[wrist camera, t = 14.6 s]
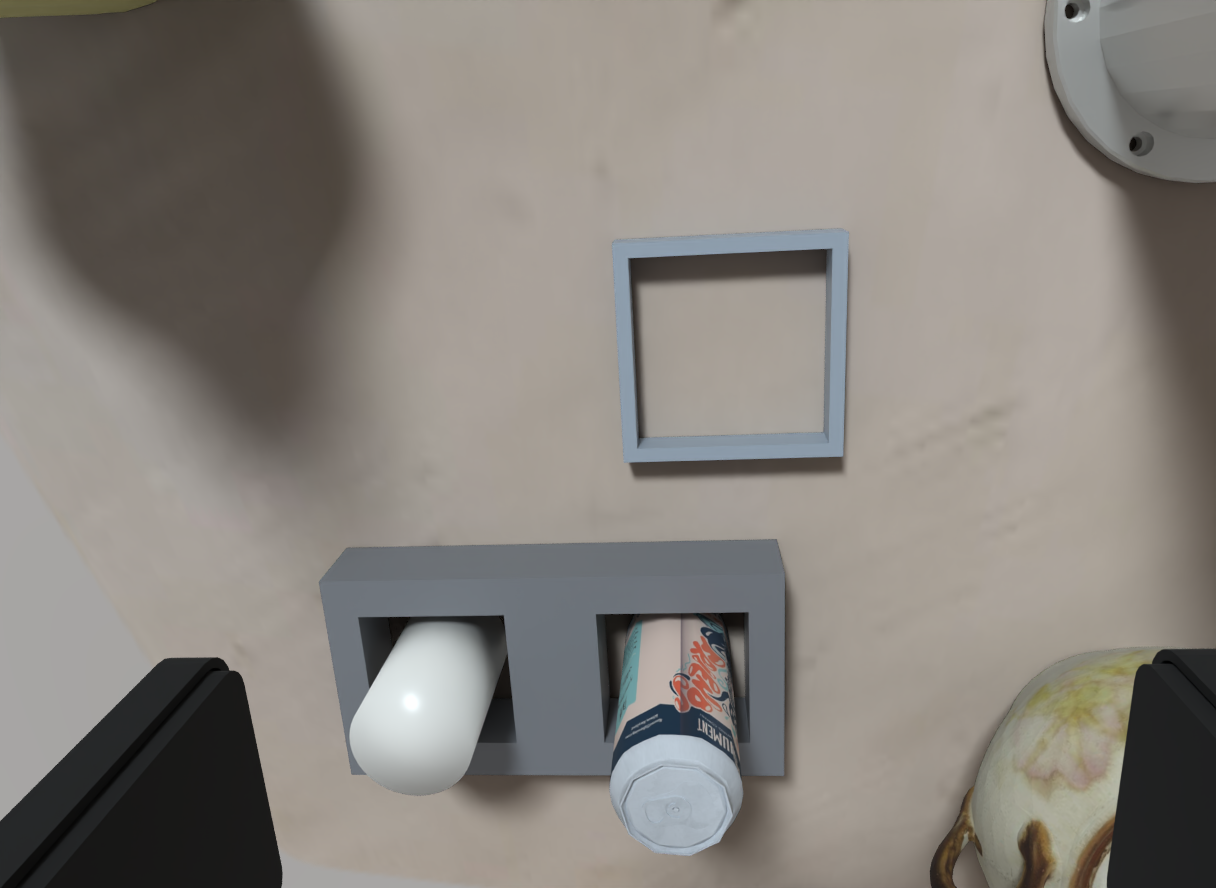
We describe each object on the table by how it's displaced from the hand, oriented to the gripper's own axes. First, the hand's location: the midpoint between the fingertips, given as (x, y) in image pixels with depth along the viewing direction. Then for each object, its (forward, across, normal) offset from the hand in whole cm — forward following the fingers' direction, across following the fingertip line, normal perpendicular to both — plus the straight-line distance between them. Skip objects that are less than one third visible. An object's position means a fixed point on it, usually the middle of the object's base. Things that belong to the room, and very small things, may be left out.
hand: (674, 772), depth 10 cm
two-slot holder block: (+30, +6, +16) cm, 35 cm away
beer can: (+31, +1, +16) cm, 34 cm away
